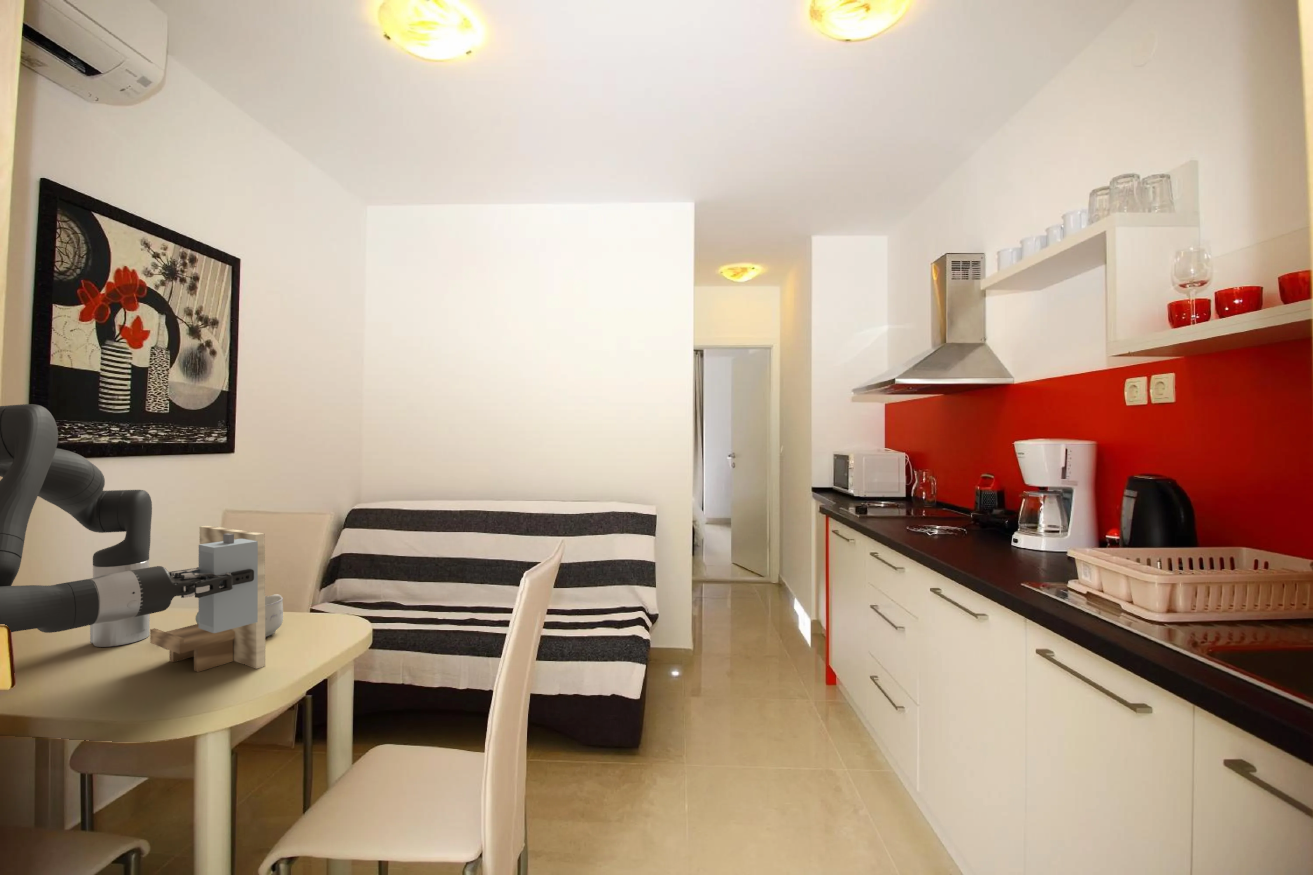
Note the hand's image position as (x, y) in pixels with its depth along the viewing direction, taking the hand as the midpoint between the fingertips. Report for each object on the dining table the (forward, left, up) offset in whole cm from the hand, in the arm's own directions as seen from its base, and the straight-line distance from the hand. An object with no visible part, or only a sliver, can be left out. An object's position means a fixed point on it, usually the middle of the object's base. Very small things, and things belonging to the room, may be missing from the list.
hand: (243, 572), depth 108 cm
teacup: (-18, +22, -20) cm, 34 cm away
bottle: (-1, -2, -9) cm, 9 cm away
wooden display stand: (-13, +4, -20) cm, 24 cm away
